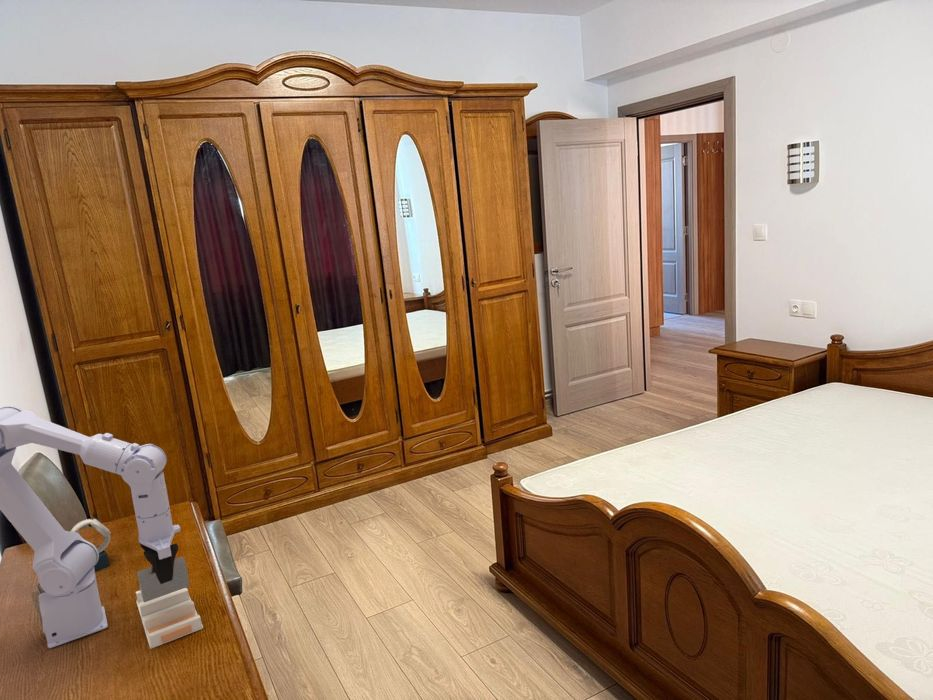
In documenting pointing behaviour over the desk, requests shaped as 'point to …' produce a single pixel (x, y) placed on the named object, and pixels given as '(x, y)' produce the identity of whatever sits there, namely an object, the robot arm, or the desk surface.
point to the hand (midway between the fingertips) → (164, 577)
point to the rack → (168, 617)
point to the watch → (103, 556)
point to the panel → (154, 589)
